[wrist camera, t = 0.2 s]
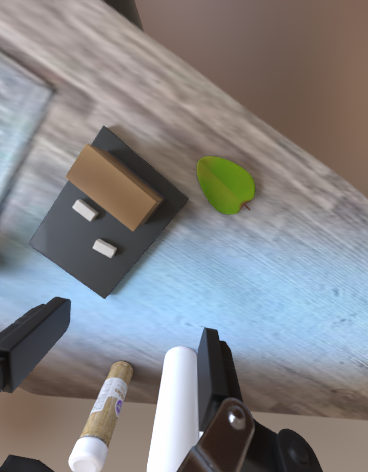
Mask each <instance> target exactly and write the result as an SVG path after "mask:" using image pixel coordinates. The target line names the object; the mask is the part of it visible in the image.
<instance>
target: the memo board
mask: <svg viewBox="0 0 368 472" xmlns="http://www.w3.org/2000/svg"><path fill="white" fill-rule="evenodd" d="M91 145H92V146H95V147H97V148H99V149H102V150H104V151H105V150H106V149H107V150H109V151H111V152H112V153H113V154H115V155H116V156H117V157H118V158H119V159H120V160H122V161H123V162H124V163H125V164H126V165H127V166H129V167H130V168H131V169H132V170H133V171H134V172H136V173H137V174H138V175H139V176H140V177H141V178H143V179H144V180H145V181H146V182H147V183H149V184H150V185H151V186H152V187H153V188H154V189H156V190H157V191H158V192H159V193H160V194H161V195H163V196H164V197H165V198H166V200H165V201H164V202H163V204H162V205H161V206H160V207H159V209H158V210H157V211H156V212H155V214H154V215H153V216H152V217H151V219H150V220H149V221H148V222H147V223H146V225H144V226H143V225H141V226H140V227H139V228H137V229H136V230H135V231H132V230H130V229H129V228H128V227H127V226H125V225H124V224H123V223H122V222H120V221H119V220H118V219H117V218H115V217H114V216H113V215H112V214H110V213H109V212H108V211H107V210H105V209H104V208H103V207H102V206H100V205H99V204H98V203H97V202H95V201H94V200H93V199H92V198H90V197H89V196H88V195H87V194H85V193H84V192H83V191H81V190H80V189H79V188H78V187H76V186H75V185H74V184H73V183H71V182H70V181H69V180H68V182H67V184H66V185H65V187H64V188H63V190H62V191H61V193H60V195H59V196H58V198H57V199H56V201H55V202H54V204H53V206H52V207H51V209H50V210H49V212H48V213H47V215H46V217H45V218H44V220H43V221H42V223H41V224H40V226H39V228H38V229H37V231H36V232H35V234H34V235H33V237H32V239H31V240H30V242H29V243H28V244H29V245H30V246H31V247H33V248H34V249H36V250H37V251H38V252H40V253H41V254H43V255H44V256H45V257H47V258H48V259H50V260H51V261H52V262H54V263H55V264H57V265H58V266H59V267H61V268H62V269H63V270H65V271H66V272H68V273H69V274H70V275H72V276H73V277H75V278H76V279H77V280H79V281H80V282H82V283H83V284H84V285H86V286H87V287H89V288H90V289H91V290H93V291H94V292H96V293H97V294H98V295H100V296H101V297H102V298H104V299H105V298H106V297H107V296H108V295H109V293H110V292H111V291H112V290H113V289H114V288H115V286H116V285H117V284H118V283H119V282H120V280H121V279H122V278H123V277H124V276H125V274H126V273H127V272H128V271H129V270H130V269H131V267H132V266H133V265H134V264H135V263H136V261H137V260H138V259H139V258H140V257H141V255H142V254H143V253H144V252H145V251H146V249H147V248H148V247H149V246H150V245H151V244H152V242H153V241H154V240H155V239H156V238H157V236H158V235H159V234H160V233H161V232H162V230H163V229H164V228H165V227H166V226H167V225H168V223H169V222H170V221H171V220H172V219H173V217H174V216H175V215H176V214H177V213H178V211H179V210H180V209H181V208H182V207H183V205H184V204H185V203H186V202H187V201H188V198H187V197H186V196H185V195H184V194H182V193H181V192H180V191H179V190H178V189H177V188H176V187H174V186H173V185H172V184H171V183H170V182H169V181H168V180H166V179H165V178H164V177H163V176H162V175H161V174H160V173H158V172H157V171H156V170H155V169H154V168H153V167H151V166H150V165H149V164H148V163H147V162H146V161H145V160H143V159H142V158H141V157H140V156H139V155H138V154H137V153H135V152H134V151H133V150H132V149H131V148H130V147H128V146H127V145H126V144H125V143H124V142H123V141H122V140H120V139H119V138H118V137H117V136H116V135H115V134H114V133H112V132H111V131H110V130H109V129H108V128H106V127H105V126H103V127H102V128H101V130H100V132H99V133H98V135H97V136H96V138H95V140H94V141H93V143H92V144H91ZM80 199H81V200H83V201H84V202H85V203H87V204H88V205H89V206H90V207H92V208H93V209H94V210H95V211H97V212H98V213H99V214H98V215H97V217H96V218H95V219H94V221H91V222H90V221H89V220H87V219H86V218H85V217H84V216H82V215H81V214H80V213H78V212H77V211H76V210H75V209H73V208H72V207H73V205H74V204H75V202H76V201H77V200H80ZM98 239H101V240H103V241H104V242H106V243H108V244H110V245H112V246H114V247H115V248H117V250H116V252H115V254H114V256H113V257H112V258H110V257H108V256H106V255H104V254H102V253H100V252H99V251H97V250H95V249H93V246H94V244H95V242H96V240H98Z"/></svg>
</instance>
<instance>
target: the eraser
mask: <svg viewBox="0 0 368 472" xmlns="http://www.w3.org/2000/svg"><path fill="white" fill-rule="evenodd" d="M65 178H66V179H68V180H69V181H70V182H71V183H73V184H74V185H75V186H76V187H78V188H79V189H80V190H81V191H83V192H84V193H85V194H87V195H88V196H89V197H90V198H92V199H93V200H94V201H95V202H97V203H98V204H99V205H100V206H102V207H103V208H104V209H105V210H107V211H108V212H109V213H110V214H112V215H113V216H114V217H115V218H117V219H118V220H119V221H120V222H122V223H123V224H124V225H125V226H127V227H128V228H129V229H130V230H132V231H135V230H136V229H137V228H139V227H140V226H141V225H143V226H144V225H146V223H147V222H148V221H149V220H150V219H151V217H152V216H153V215H154V214H155V212H156V211H157V210H158V209H159V207H160V206H161V205H162V204H163V202H164V201H165V200H166V198H165V197H164V196H163V195H161V194H160V193H159V192H158V191H157V190H156V189H154V188H153V187H152V186H151V185H150V184H149V183H147V182H146V181H145V180H144V179H143V178H141V177H140V176H139V175H138V174H137V173H136V172H134V171H133V170H132V169H131V168H130V167H129V166H127V165H126V164H125V163H124V162H123V161H122V160H120V159H119V158H118V157H117V156H116V155H115V154H113V153H112V152H111V151H109V150H107V149H106V150H105V151H104V150H102V149H99V148H97V147H95V146H92V145H90V144H87V143H86V145H85V146H84V148H83V150H82V151H81V153H80V154H79V156H78V158H77V159H76V161H75V162H74V164H73V166H72V167H71V169H70V170H69V172H68V174H67V175H66V177H65Z"/></svg>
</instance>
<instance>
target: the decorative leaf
mask: <svg viewBox="0 0 368 472" xmlns="http://www.w3.org/2000/svg"><path fill="white" fill-rule="evenodd" d="M197 176H198V180H199V183H200V186H201V188H202V190H203V192H204V194H205V196H206V198H207V199H208V201H209V202H210V204H211V205H212V206H213V207H214V208H215V209H216V210H218V211H219V212H221V213H224V214H236V213H238V212H239V211H240V210H241V208H242V206H243V205H245V204H244V203H247V202H249V201H251V200H252V199H253V198H254V195H255V183H254V180H253V178H252V176H251V175H250V174H249V173H248V172H247V171H246V170H245V169H243V168H242V167H240V166H239V165H237V164H235V163H233V162H231V161H229V160H226V159H223V158H219V157H214V156H206V157H203V158H201V159H200V160H199V161H198V163H197ZM245 206H246V205H245ZM246 207H247V206H246ZM247 208H248V207H247ZM248 209H249V208H248ZM249 210H250V209H249Z"/></svg>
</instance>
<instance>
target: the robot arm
mask: <svg viewBox="0 0 368 472" xmlns="http://www.w3.org/2000/svg"><path fill="white" fill-rule="evenodd" d="M70 310H71V301H70V299H65V298H60V297H54V298H53V299H52V300H50V301H49V302H48V303H47V304H41V305H39V306H37V307H35V308H32V309H31V310H29V311H28V312H27V313H25V314H24V315H23V316H22V317H20V318H19V319H17V320H16V321H15V322H14V323H12V324H11V325H10V326H8V327H7V328H6V329H4V330H3V331H2V332H0V392H1V391H3V392H8V393H12V392H13V391H14V390H15V389H16V388H17V387H18V386H19V384H20V383H21V382H22V381H23V380H24V379H25V378H26V376H27V375H28V374H29V373H30V372H31V371H32V370H33V368H34V367H35V366H36V365H37V364H38V363H39V362H40V360H41V359H42V358H43V357H44V356H45V355H46V354H47V352H48V351H49V350H50V349H51V348H52V347H53V346H54V344H55V343H56V342H57V341H58V340H59V339H60V338H61V336H62V335H63V334H64V333H65V332H66V330H67V328H68V326H69V323H70ZM197 373H198V409H199V431H200V432H203V434H202V436H201V437H200V439H199V441H198V442H197V444H196V445H195V446H193V447H192V448H191V449H190V450H189V452H188V454H187V455H186V457H185V458H184V460H183V462H182V463H181V465H180V466H179V468H178V470H177V471H176V472H323V471H322V469H321V467H320V464H319V461H318V459H317V457H316V455H315V453H314V451H313V449H312V448H311V447H310V445H309V444H308V443H307V442H306V441H305V439H304V438H303V437H301V436H300V435H299V434H297V433H296V432H294V431H292V430H290V429H282V430H281V431H280V432H279V433H278V434H276V433H275V432H273V431H271V430H270V429H268V428H266V427H265V426H263V425H261V424H259V423H258V422H257V421H256V420H255V419H254V418H253V417H252V414H251V412H250V411H249V409H248V408H247V407H246V405H245V404H244V403H243V400H242V396H241V392H240V387H239V383H238V379H237V375H236V370H235V366H234V362H233V358H232V353H231V350H230V348H229V346H228V345H227V343H226V342H225V341H220V340H219V335H218V331H217V330H215V329H210V328H206V327H205V328H204V330H203V333H202V337H201V341H200V344H199V348H198V354H197ZM0 472H54V471H53V470H51V469H50V468H49V467H48V466H46V465H45V464H43V463H42V462H41V461H39V460H36V459H30V458H25V457H20V456H14V455H9V456H8V457H7V459H6V460H5V462H4V463H3V465H2V466H1V467H0Z"/></svg>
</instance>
